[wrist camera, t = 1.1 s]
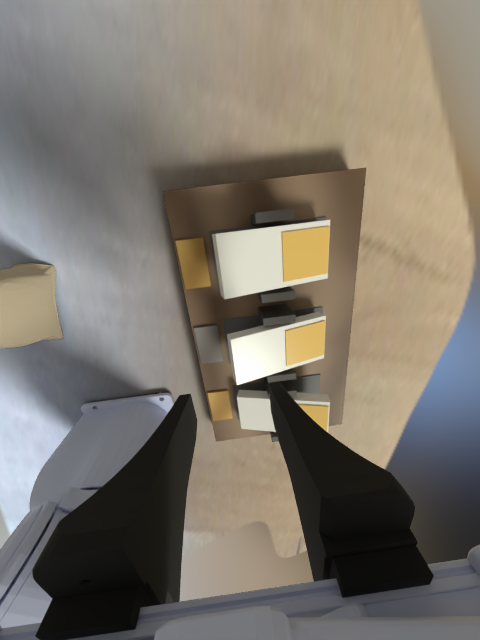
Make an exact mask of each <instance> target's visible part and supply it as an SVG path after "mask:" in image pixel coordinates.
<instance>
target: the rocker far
mask: <svg viewBox="0 0 480 640" xmlns="http://www.w3.org/2000/svg"><path fill="white" fill-rule="evenodd" d="M292 398H293V399H294V400H295V402H296V403H297V404H298V405H299V406H300V407H301V408H302V409H303V410H304V411H305V412H306V413H307V414H308V415H309V416H310V417H311V418H312V419H313V420H314V421H315V422H316V423H317V424H318V425H319V426H320V427H322V428H323V429H324V430H325V431H326V432H328V426H329V410H330V400H329V396H328V394H318V393H297V396H292ZM237 402H238V409H239V416H240V423H241V429H248V430H259V431H271V432H276V431H275V427H274V423H273V418H272V414H271V406H270V400H269V397H268V393H267V391H255V390H239V391H238V395H237Z"/></svg>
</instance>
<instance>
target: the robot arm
mask: <svg viewBox="0 0 480 640" xmlns="http://www.w3.org/2000/svg"><path fill="white" fill-rule="evenodd" d="M269 392H270V406H271V414H272V418H273V423H274V427H275V431H276V434H277V437H278V440H279V443H280V446H281V449H282V452H283V455H284V458H285V461H286V464H287V467H288V471H289V474H290V478H291V482H292V486H293V490H294V494H295V499H296V503H297V507H298V512H299V516H300V520H301V525H302V529H303V534H304V538H305V543H306V547H307V552H308V556H309V561H310V566H311V570H312V575H313V579H314V582H308V583H301V584H295V585H288V586H281V587H275V588H268V589H261V590H255V591H248V592H241V593H235V594H229V595H221V596H215V597H209V598H202V599H195V600H188V601H181V602H179V599H180V578H181V560H182V545H183V531H184V518H185V507H186V496H187V487H188V480H189V475H190V469H191V464H192V458H193V453H194V447H195V442H196V432H197V418H196V414H195V410H194V406H193V402H192V398H191V394H186V395H180V396H179V397H178V399H177V400H176V402H175V403H174V402H173V398H172V395H171V394H170V393H160V394H152V395H145V396H137V397H130V398H122V399H114V400H107V401H99V402H92V403H85V404H83V405H82V406H81V408H80V409H81V411H82V413H83V415H82V416H81V417H80V419H79V420H78V421H77V423H76V424H75V425H74V427H73V428H72V429H71V431H70V432H69V433H68V434H67V436H66V437H65V438H64V440H63V441H62V442H61V444H60V445H59V446H58V448H57V449H56V450H55V451H54V453H53V454H52V455H51V457H50V458H49V459H48V461H47V462H46V463H45V465H44V466H43V468H42V469H41V471H40V473H39V475H38V477H37V479H36V481H35V484H34V487H33V490H32V493H31V498H30V512H29V513H28V514H27V515H26V516H25V517H24V519H23V520H22V521H21V523H20V524H19V525H18V526H17V528H16V529H15V530H14V532H13V533H12V534H11V536H10V537H9V538H8V540H7V541H6V542H5V544H4V545H3V547H2V548H1V549H0V640H480V545H478V546H476V547H474V548H472V549H471V550H470V552H469V554H468V559H462V560H455V561H448V562H441V563H435V564H428V565H427V563H426V562H425V560H424V558H423V557H422V555H421V553H420V552H419V550H418V548H417V547H416V545H417V540H416V538H415V537H414V535H413V533H412V532H411V530H410V529H409V528H410V525H411V522H412V519H413V516H414V510H415V506H414V503H413V501H412V500H411V498H410V497H409V495H408V494H407V493H406V491H405V490H404V488H403V487H402V486H401V485H400V484H399V482H398V481H397V480H396V479H395V477H394V476H393V475H392V474H391V473H390V472H388V471H386V470H384V469H382V468H381V467H379V466H377V465H375V464H373V463H372V462H370V461H368V460H366V459H365V458H363V457H361V456H360V455H358V454H357V453H355V452H354V451H352V450H351V449H349V448H348V447H346V446H345V445H344V444H342V443H341V442H339V441H338V440H337V439H335V438H334V437H333V436H331V435H330V434H329V433H328V432H326V431H325V430H324V429H323V428H322V427H320V426H319V425H318V424H317V423H316V422H315V421H314V420H313V419H312V418H311V417H310V416H309V415H308V414H307V413H306V412H305V411H304V410H303V409H302V408H301V407H300V406H299V405H298V404H297V403H296V402H295V400H294V399H293V398H292V397H291V396H290V395H289V393H288V392H287V391H286V389H285V388H284V387H283V385H282V384H281V383H280V382H276V383H269ZM160 397H162V398H164V399H162V398H160ZM95 406H96V407H95Z"/></svg>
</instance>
